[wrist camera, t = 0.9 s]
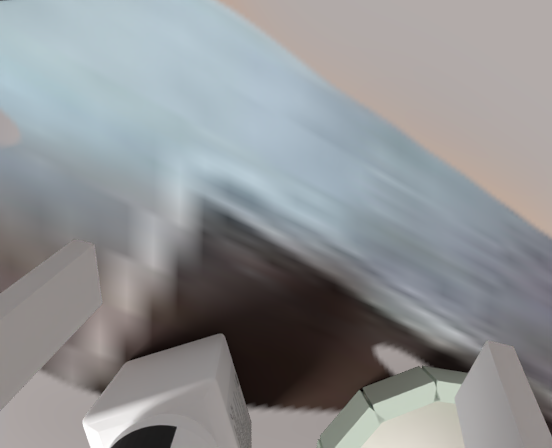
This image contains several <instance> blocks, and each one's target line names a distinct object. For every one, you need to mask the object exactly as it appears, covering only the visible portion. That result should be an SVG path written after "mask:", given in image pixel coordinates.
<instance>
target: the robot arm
mask: <svg viewBox="0 0 552 448" xmlns="http://www.w3.org/2000/svg"><path fill="white" fill-rule="evenodd" d="M0 1H1V0H0ZM101 305H102V297H101V289H100V282H99V274H98V267H97V259H96V252H95V244H94V243H90V242H86V241H81V240H77V239H74V240H72V241H71V242H70V243H68V244H67V245H66V246H64V247H63V248H62V249H60V250H59V251H57V252H56V253H55V254H53V255H52V256H51V257H49V258H48V259H47V260H45V261H44V262H42V263H41V264H40V265H38V266H37V267H36V268H34V269H33V270H32V271H30V272H29V273H28V274H26V275H25V276H23V277H22V278H21V279H19V280H18V281H17V282H15V283H14V284H13V285H11V286H10V287H9V288H7V289H6V290H4V291H3V292H2V293H0V411H1V410H2V409H3V408H4V406H5V405H6V404H7V403H8V402H9V401H10V400H11V399H12V398H13V397H14V396H15V395H16V394H17V393H18V392H19V391H20V390H21V389H22V387H24V385H25V384H26V383H27V382H28V381H29V380H30V379H31V378H32V377H33V376H34V375H35V374H36V373H37V372H38V371H39V370H40V369H41V368H42V367H43V366H44V364H45V363H46V362H47V361H48V360H49V359H50V358H51V357H52V356H53V355H54V354H55V353H56V352H57V351H58V350H59V349H60V348H61V347H62V346H63V345H64V343H65V342H66V341H67V340H68V339H69V338H70V337H71V336H72V335H73V334H74V333H75V332H76V331H77V330H78V329H79V328H80V327H81V326H82V325H83V324H84V322H85V321H86V320H87V319H88V318H89V317H90V316H91V315H92V314H93V313H94V312H95V311H96V310H97V309H98V308H99V307H100V306H101ZM454 399H455V403H456V408H457V413H458V417H459V422H460V427H461V431H462V436H463V441H464V445H465V448H552V436H551V434H550V431H549V429H548V427H547V424H546V422H545V420H544V417H543V415H542V413H541V410H540V408H539V406H538V403H537V401H536V399H535V396H534V394H533V391H532V389H531V387H530V384H529V382H528V380H527V377H526V375H525V373H524V370H523V368H522V366H521V363H520V361H519V359H518V356H517V354H516V352H515V349H514V347H513V346H509V345H505V344H501V343H497V342H493V341H488V340H487V341H486V342H485V344H484V346H483V348H482V349H481V351H480V353H479V355H478V357H477V358H476V360H475V362H474V364H473V366H472V367H471V369H470V371H469V373H468V374H467V376H466V378H465V380H464V382H463V383H462V385H461V387H460V389H459V390H458V392H457V394H456V396H455V398H454Z"/></svg>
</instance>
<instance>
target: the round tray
mask: <svg viewBox="0 0 552 448" xmlns="http://www.w3.org/2000/svg"><path fill="white" fill-rule="evenodd" d="M467 374H468V373H465V372H459V371H452V370H446V369H440V368H433V367H427V366H422V369H421V368H420V367H419V366H418V367H415V368H413V369H410V370H408V371H405V372H402V373H400V374H397V375H394V376H392V377H389V378H387V379H384V380H381V381H379V382H376V383H373V384H371V385H368V386H366V387H363V392H362V391H360V390H359V391H358V392H357V393H356V394H355V396H354V397H353V398H352V399H351V400H350V401H349V403H348V404H347V405H346V406H345V407H344V408H343V410H342V411H341V412H340V413H339V414H338V415H337V417H336V418H335V419H334V420H333V421H332V423H331V424H330V425H329V426H328V427H327V428H326V429H325V431H324V432H323V433H322V434H321V435H320V439H321V440H318V443H317V448H465V445H464V441H463V436H462V431H461V427H460V422H459V417H458V413H457V408H456V403H455V399H454V398H455V396H456V394H457V392H458V390H459V389H460V387H461V385H462V383H463V382H464V380H465V378H466V376H467Z"/></svg>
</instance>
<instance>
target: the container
mask: <svg viewBox="0 0 552 448" xmlns="http://www.w3.org/2000/svg"><path fill="white" fill-rule="evenodd" d="M83 427H84V430H85V432H86V436H87V439H88V441H89V444H90V447H91V448H251V420H250V417H249V413H248V410H247V407H246V403H245V400H244V397H243V394H242V390H241V387H240V384H239V381H238V377H237V374H236V371H235V368H234V364H233V361H232V358H231V355H230V351H229V348H228V345H227V342H226V338H225V336H224V335H223V334H221V333H220V334H216V335H212V336H209V337H206V338H203V339H199V340H196V341H193V342H190V343H186V344H183V345H180V346H176V347H173V348H170V349H167V350H163V351H160V352H157V353H153V354H150V355H147V356H144V357H140V358H137V359H134V360H130V361H128V362H126V363H125V364H124V365H123V367H122V368H121V369H120V371H119V372H118V373H117V375H116V376H115V377H114V379H113V380H112V381H111V383H110V384H109V385H108V386H107V388H106V389H105V390H104V392H103V393H102V394H101V396H100V397H99V398H98V400H97V401H96V402H95V404H94V405H93V406H92V407H91V409H90V410H89V412H88V413H87V414H86V415H85V417H84V419H83Z"/></svg>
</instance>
